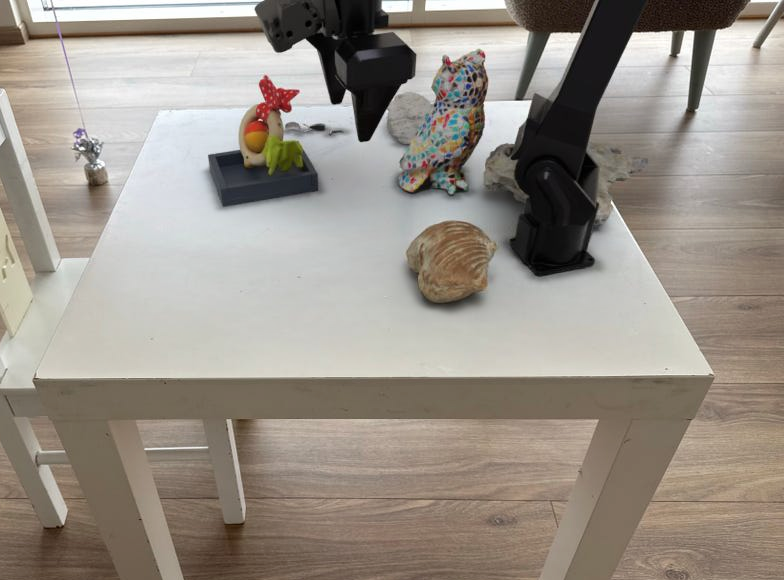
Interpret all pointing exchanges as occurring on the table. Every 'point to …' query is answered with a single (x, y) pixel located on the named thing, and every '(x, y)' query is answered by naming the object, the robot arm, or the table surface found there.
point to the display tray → (258, 179)
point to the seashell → (451, 260)
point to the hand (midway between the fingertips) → (349, 121)
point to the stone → (406, 115)
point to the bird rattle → (269, 131)
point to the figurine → (448, 127)
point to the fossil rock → (607, 158)
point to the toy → (315, 127)
